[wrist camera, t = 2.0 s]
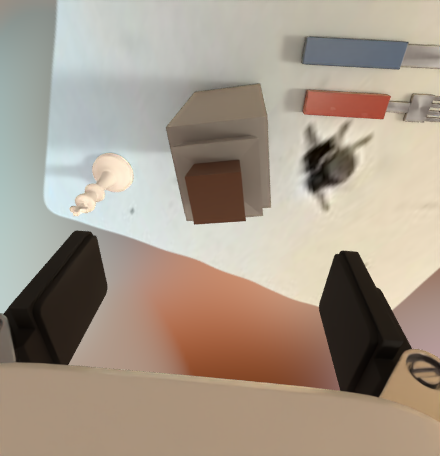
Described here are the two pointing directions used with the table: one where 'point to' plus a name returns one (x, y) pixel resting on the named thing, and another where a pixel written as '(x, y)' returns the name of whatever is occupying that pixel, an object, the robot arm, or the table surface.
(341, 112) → the fork
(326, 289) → the robot arm
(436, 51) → the knife
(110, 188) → the chess piece
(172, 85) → the table surface
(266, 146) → the perfume bottle
